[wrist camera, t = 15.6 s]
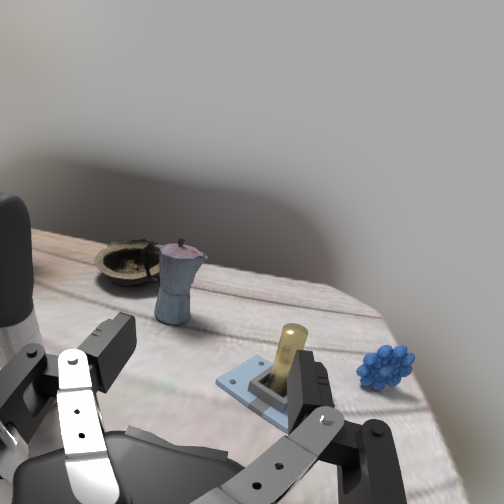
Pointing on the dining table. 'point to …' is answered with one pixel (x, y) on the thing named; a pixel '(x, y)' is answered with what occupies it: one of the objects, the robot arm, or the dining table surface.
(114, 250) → the stone bowl
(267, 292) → the dining table surface
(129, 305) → the dining table surface
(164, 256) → the moka pot
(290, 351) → the pin
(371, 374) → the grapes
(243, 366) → the square socket mounting plate
